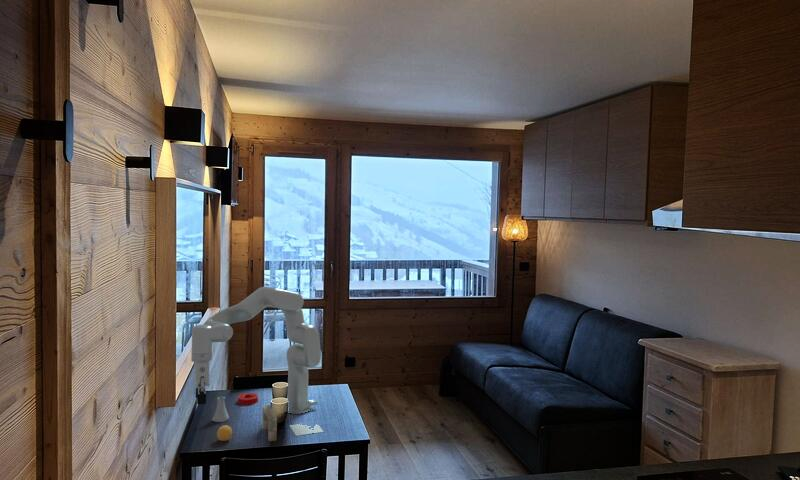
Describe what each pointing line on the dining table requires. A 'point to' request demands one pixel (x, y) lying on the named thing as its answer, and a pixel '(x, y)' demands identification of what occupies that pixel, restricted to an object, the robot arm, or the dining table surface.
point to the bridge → (269, 422)
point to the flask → (220, 411)
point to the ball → (224, 433)
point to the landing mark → (305, 429)
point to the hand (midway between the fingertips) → (200, 400)
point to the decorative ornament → (247, 399)
